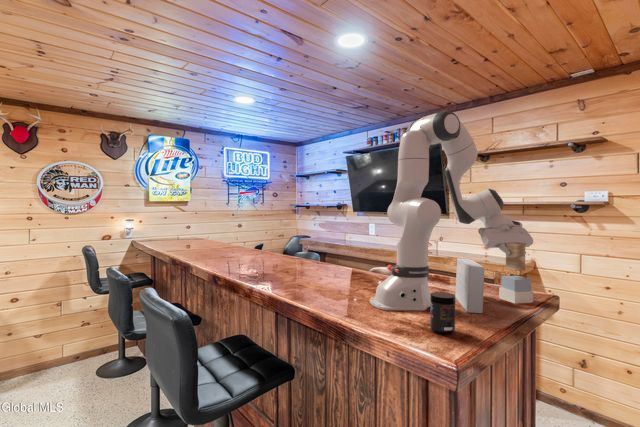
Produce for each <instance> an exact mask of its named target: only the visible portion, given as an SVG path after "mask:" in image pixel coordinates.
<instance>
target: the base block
mask: <svg viewBox="0 0 640 427" xmlns="http://www.w3.org/2000/svg"><path fill="white" fill-rule="evenodd" d="M498 290H499V291H498V292H499V294H498V298H499V299H501V300H504V301H507V302H510V303H512V304H514V305H515V304H516V305H517V304H531V303H532V302H533V303H534V291H533V290H531V291H522V292H514V291H511V290H508V289H505V288H502V286H500V287H499V288H498Z"/></svg>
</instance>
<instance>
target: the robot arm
mask: <svg viewBox="0 0 640 427" xmlns="http://www.w3.org/2000/svg"><path fill="white" fill-rule="evenodd" d="M438 144H440V145H441V147H442V149H443V152H444V154H445V156H446V158H447V165H446V167H445V168H444V175H445V180H446V185H447V188H448V191H449V195H450V199H451V201H452V207H453V213H454V216H455V218H456V221H458V222H459V223H461V224H464V225H469V224H471V223H473V222H475V221H476V220H480V221H481V223H483V224H484V225H483V226H484V227H480V228H478V230H477V232H478V234H479V236H480V239H481V241H482V243H483V245H484V247H485V248H487V249H497V248H498V249H499V250H500V251H501V252H503V253H504V254H505V256H506V255H507V256H511V254H512V252H511V250H508V249H507V248H506V243H520V244H525V248H529V247H530V246H531V245H532V244H533V243H534V238H533V237H532V235H531V234H530V233H529V231H528V230H527V229H526V228H524V226H523V224H522V222H520V221H516V220H513V219H510V218H507V217H506V216H505V215H504V214H503V212H502V211H503V209H504V201H503V199H502V197H501V196H500V195H499V193H498V192H497V191H496V190H495V189H491V188H486V189H484V190H481V191H479V192H477V193H475V194H474V195H471V196H469V197H467V198H464V199H463V196H462V193H461V188H460V181H461V179H462V177H463V176H464V175H465V174H466V173H467V172H468V171H469V170H470V169H471V168H472V167H473V165H474V164H475V163H476V160H477V158H478V156H479V154H478V152H479V151H478V149H477V145H476V144H475V141H474V139H473V137H472V135H471V133H470V132H469V130H468V129H467V128H466V126H465V124H464V123H462V121H460V119H459V117H458V116H457V114H455V112H453V111H451V110H441V111H439V112H437V113H433V114H427V115H426V116H423V117H421V118H420V119H416V120H414V121H412V122H411V123H410V124H409V125H408V127H407V128H406V132H404V133H403V134H402V135H401V138H400V142H399V148H398V156H397V181H396V187H395V190H394V195H393V199H392V201H391V203H390V204H389V206H388V207H387V211H386V212H387V217H388V219H389V221H390V222H391V223H393V224H394V225H395V226H398V227H402V228H403V230H402V233H401V237H400V239H399V240H398V241H397V244H396V264H395V265H391V264H388V265H387V267H386V269H387V271H390V272H391V274H390V275H389V276H388V277H387V278H385V279H384V280H383V281H382V282H380V283H379V284H378V285H377V286H376V289H375V290H376V291H375V295H374V296H372V297H370V298H369V303H370V305H371V306H373V307H374V308H376V309H379V310H382V311H426V310H427V309H428V308H430V306H431V300H430V290H429V277H430V276H429V275H430V272H429V270H430V269H429V266H428V253H429V252H428V250H429V243H430V238H431V235H432V232H433V230H434V227H436V225H438V224H439V222H440V219H441V216H442V209H441V207H440V205H439V204H438V202H436V201H435V200H433V199H429V198H428V197H427V198H426V197H422V194H423V191H424V190H425V187H426V186H427V184H428V183H429V180H430V179H429V177H430V176H429V174H430V150H429V149H430V147H431V145H438ZM526 254H527V251H526V250H525V255H526Z"/></svg>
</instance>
